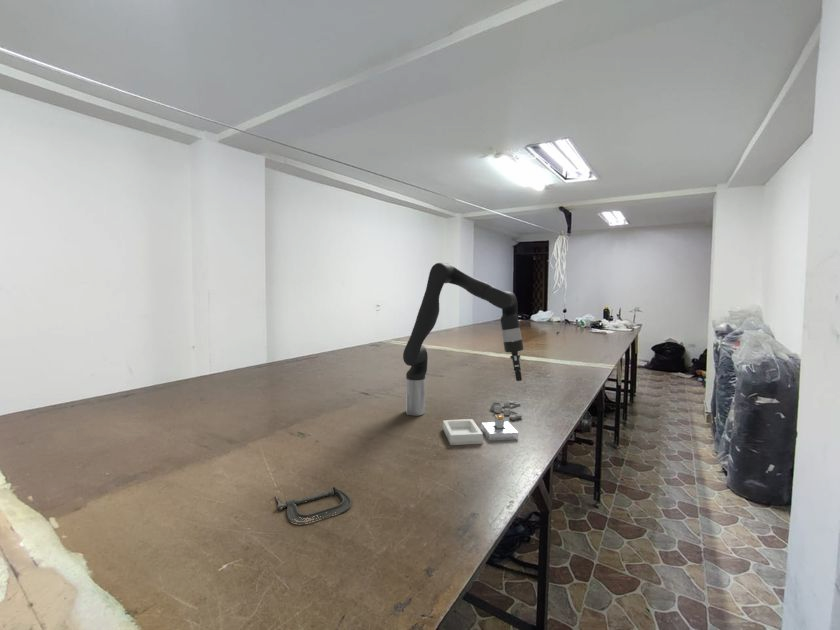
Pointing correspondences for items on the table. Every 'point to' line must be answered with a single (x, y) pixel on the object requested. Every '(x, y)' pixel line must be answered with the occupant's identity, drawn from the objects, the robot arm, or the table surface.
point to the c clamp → (294, 512)
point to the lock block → (499, 431)
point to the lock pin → (499, 421)
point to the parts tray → (462, 432)
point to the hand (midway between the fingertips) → (518, 378)
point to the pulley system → (506, 409)
